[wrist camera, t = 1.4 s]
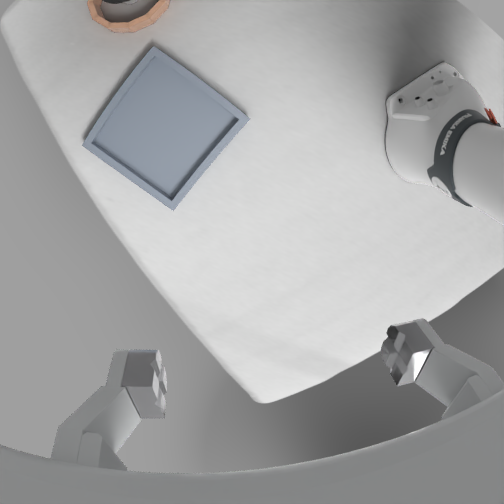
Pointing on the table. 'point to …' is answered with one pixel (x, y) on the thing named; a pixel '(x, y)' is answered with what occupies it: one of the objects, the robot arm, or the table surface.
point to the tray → (164, 128)
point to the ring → (133, 25)
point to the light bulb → (120, 1)
